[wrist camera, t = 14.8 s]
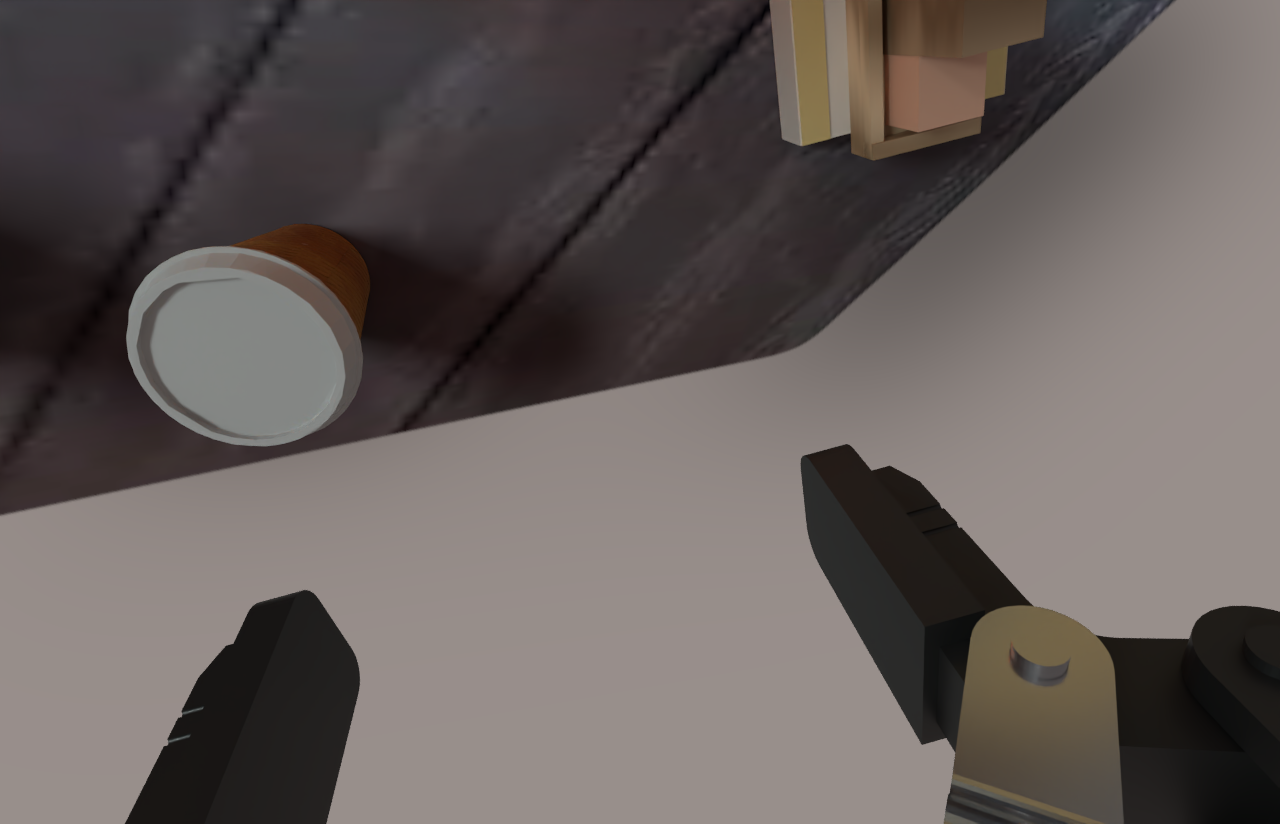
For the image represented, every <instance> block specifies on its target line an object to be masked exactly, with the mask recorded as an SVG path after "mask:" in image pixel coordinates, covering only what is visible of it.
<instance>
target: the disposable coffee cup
mask: <svg viewBox="0 0 1280 824" xmlns="http://www.w3.org/2000/svg"><path fill="white" fill-rule="evenodd" d="M369 293H370V277H369V273H368V269H367V266H366V264H365V261H364V260H363V258H362V257H361V255H360V254H359V252H358V251H357V250H356V248H355V247H354V246H353V245H352V244H351V243H350V242H348V241H347V240H346V239H344V238H343V237H342V236H340V235H339V234H337V233H335V232H333V231H331V230H329V229H326V228H323V227H320V226H317V225H309V224H294V225H289V226H285V227H282V228H280V229H277V230H274V231H272V232H268V233H266V234H263V235H260V236H257V237H254V238H251V239H248V240H245V241H243V242H240V243H237V244H234V245H231V246H214V247H205V248H200V249H194V250H189V251H186V252H184V253H181V254H179V255H176V256H174V257H172V258H170V259H168V260H167V261H165V262H163V263H162V264H160V265H159V266H158V267H156V268H155V269H154V270H153V271H152V272H151V273H149V274H148V275H147V276H146V277H145V279H144V280H143V282H142V283H141V285H140V286H139V288H138V289H137V291H136V292H135V295H134V298H133V300H132V303H131V306H130V309H129V322H128V329H127V335H126V341H127V349H128V357H129V360H130V363H131V366H132V368H133V371H134V374H135V376H136V377H137V379H138V381H139V383H140V384H141V386H142V387H143V389H144V390H145V391H146V392H147V394H148V395H149V396H150V398H151V399H152V400H153V401H154V402H155V403H156V404H157V405H158V406H159V407H160V408H161V409H162V410H163V411H165V412H166V413H167V414H168V415H169V416H170V417H172V418H173V419H175V420H176V421H178V422H179V423H181V424H182V425H184V426H186V427H188V428H189V429H191V430H193V431H195V432H197V433H199V434H202V435H204V436H207V437H209V438H212V439H215V440H219V441H223V442H227V443H230V444H236V445H247V446H271V445H279V444H284V443H287V442H291V441H294V440H298V439H300V438H302V437H304V436H306V435H309V434H311V433H313V432H316V431H318V430H320V429H322V428H325V427H326V426H327V425H329V424H330V423H332V422H333V421H335V420H336V419H337V418H338V417H339V416H340V415H341V414H342V413H343V412H344V411H345V410H346V409H347V408H348V406H349V405H350V403H351V401H352V400H353V398H354V397H355V395H356V392H357V390H358V387H359V384H360V381H361V375H362V365H363V354H362V347H361V341H360V339H361V333H362V329H363V324H364V318H365V312H366V307H367V302H368V297H369Z"/></svg>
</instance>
